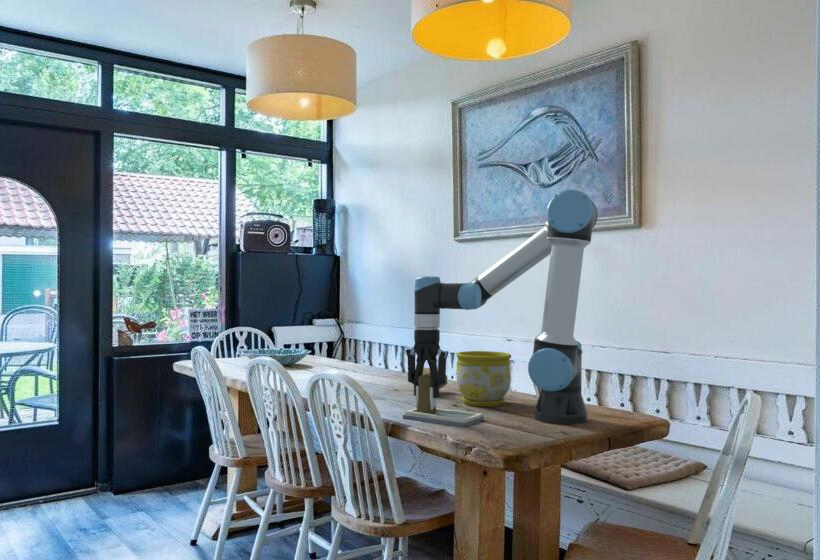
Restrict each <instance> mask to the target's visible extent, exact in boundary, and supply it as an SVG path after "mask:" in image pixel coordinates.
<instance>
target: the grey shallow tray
mask: <svg viewBox="0 0 820 560" xmlns="http://www.w3.org/2000/svg"><path fill="white" fill-rule="evenodd" d="M416 409H417V408H416V407H415V408H413V409H408V410H405V413H404V414H402V419H407V420H413V421H420V422H427V423H433V424H441V425H447V426H448V425H449V426H454V427H461V428H465V427H467V426H470V425H473V424H475V423H479V422H481V421H484V415H483V413H480V412H472V411H464V410H456V409H455V410H454V409H443V408H437V409H436V413H435V414H428V413H420V412H416Z"/></svg>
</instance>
